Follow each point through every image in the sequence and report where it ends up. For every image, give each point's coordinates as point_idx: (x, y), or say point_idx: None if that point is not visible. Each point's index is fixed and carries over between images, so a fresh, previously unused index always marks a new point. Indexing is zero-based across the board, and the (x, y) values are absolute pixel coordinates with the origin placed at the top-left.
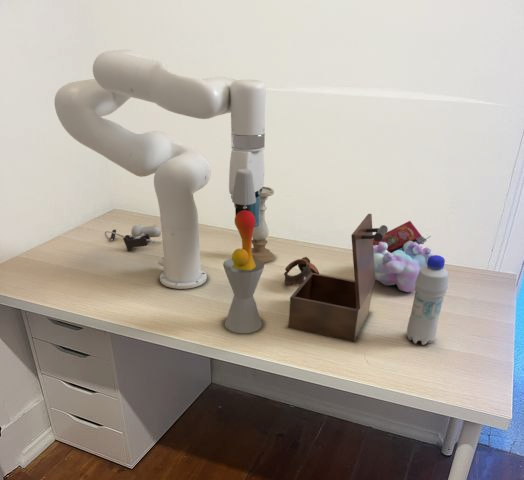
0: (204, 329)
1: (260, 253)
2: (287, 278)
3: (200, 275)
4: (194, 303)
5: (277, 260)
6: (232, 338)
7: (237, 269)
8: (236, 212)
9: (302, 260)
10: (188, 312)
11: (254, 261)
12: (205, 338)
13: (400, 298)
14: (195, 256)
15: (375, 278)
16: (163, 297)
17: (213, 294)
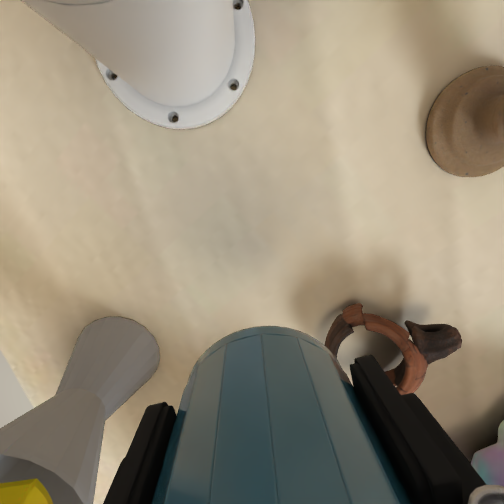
0: (34, 309)
1: (474, 142)
2: (331, 342)
3: (209, 95)
4: (97, 199)
5: (485, 186)
6: (59, 373)
7: (55, 427)
8: (117, 497)
9: (405, 376)
10: (53, 224)
11: (90, 493)
12: (12, 336)
13: None
14: (158, 80)
15: (472, 462)
16: (49, 98)
17: (172, 200)
